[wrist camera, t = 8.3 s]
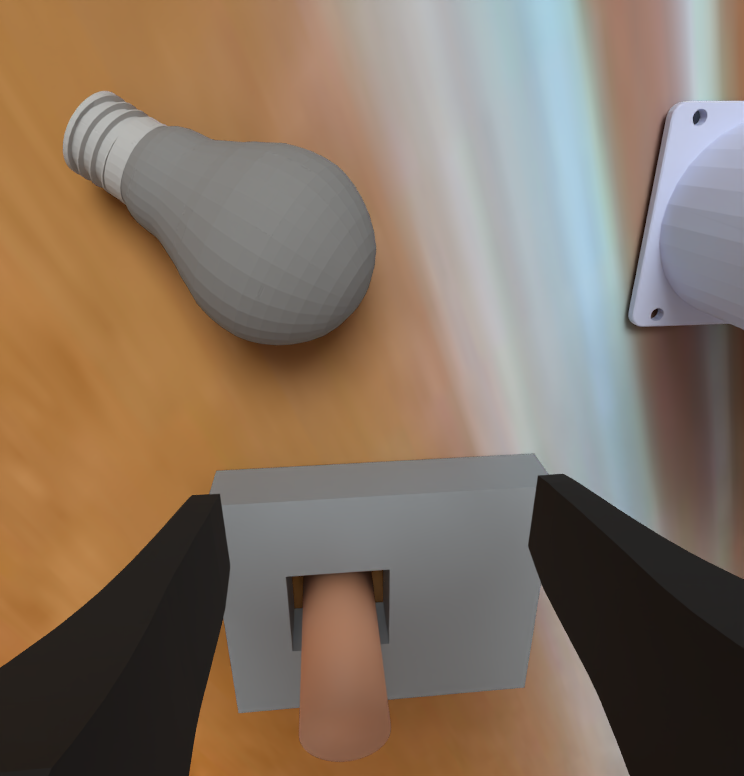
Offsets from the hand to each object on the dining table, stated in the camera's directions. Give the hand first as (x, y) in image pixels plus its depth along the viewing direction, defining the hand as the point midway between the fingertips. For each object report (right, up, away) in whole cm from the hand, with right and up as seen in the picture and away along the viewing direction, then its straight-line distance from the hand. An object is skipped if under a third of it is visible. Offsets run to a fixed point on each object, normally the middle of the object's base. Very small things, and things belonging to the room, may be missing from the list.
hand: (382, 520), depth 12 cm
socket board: (0, -6, +14) cm, 15 cm away
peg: (-2, -6, +14) cm, 15 cm away
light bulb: (-9, +11, +4) cm, 15 cm away
